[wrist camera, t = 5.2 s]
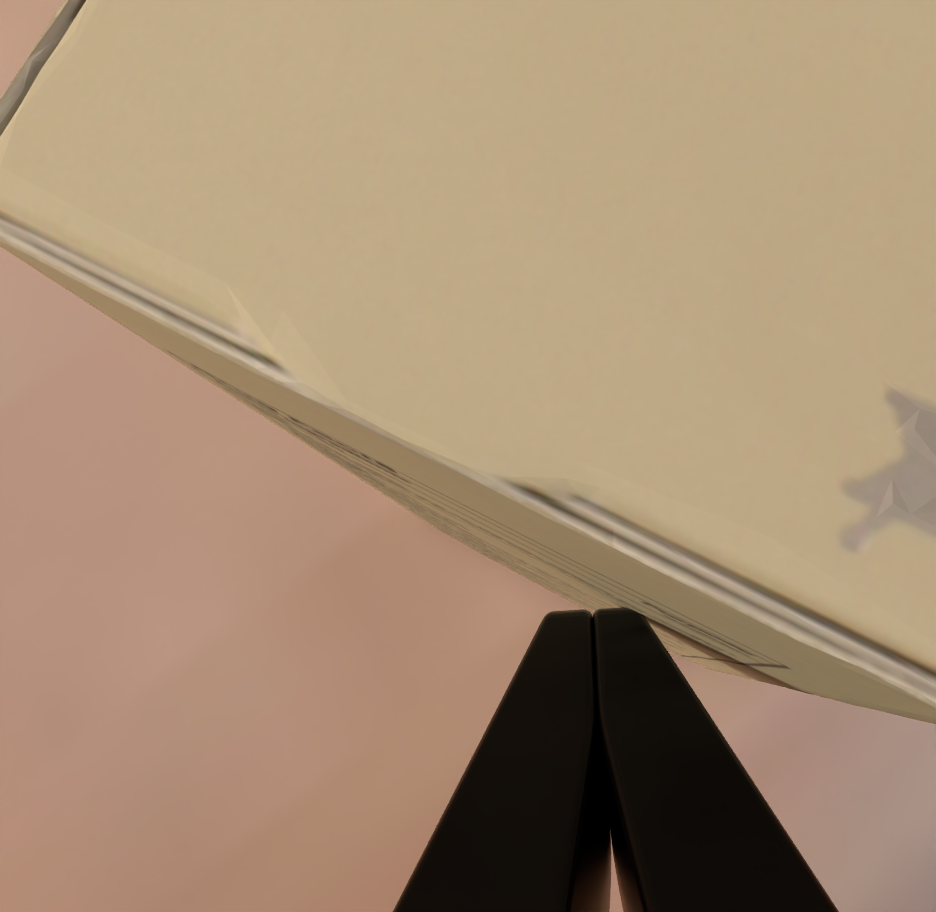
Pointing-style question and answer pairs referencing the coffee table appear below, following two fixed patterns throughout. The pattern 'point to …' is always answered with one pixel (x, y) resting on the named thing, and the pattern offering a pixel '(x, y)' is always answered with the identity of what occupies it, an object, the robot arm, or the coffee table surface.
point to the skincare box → (545, 283)
